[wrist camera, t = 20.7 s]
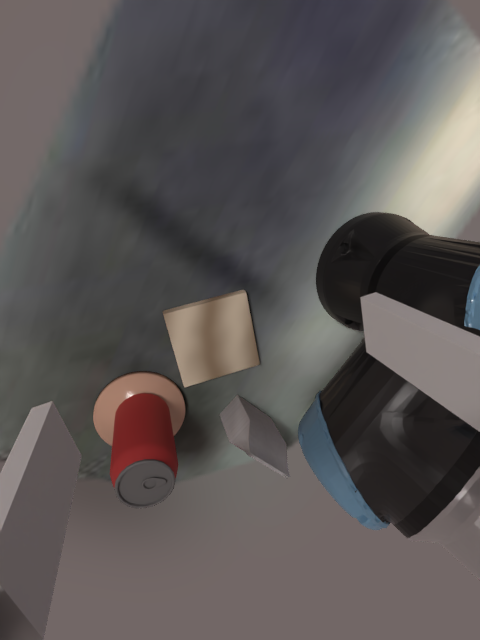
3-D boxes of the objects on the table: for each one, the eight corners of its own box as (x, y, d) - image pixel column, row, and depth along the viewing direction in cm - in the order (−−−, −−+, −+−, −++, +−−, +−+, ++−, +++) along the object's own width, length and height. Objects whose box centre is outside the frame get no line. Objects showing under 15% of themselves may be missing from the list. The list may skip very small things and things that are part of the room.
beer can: (169, 433, 47) (180, 507, 36) (115, 439, 45) (110, 518, 34) (169, 388, 45) (181, 452, 34) (113, 392, 43) (106, 461, 32)
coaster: (172, 360, 45) (173, 363, 44) (192, 430, 49) (194, 435, 48) (81, 386, 43) (79, 391, 42) (110, 457, 47) (110, 463, 46)
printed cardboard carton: (237, 394, 49) (260, 441, 40) (270, 417, 52) (299, 466, 43) (219, 414, 49) (238, 465, 40) (253, 436, 52) (278, 488, 43)
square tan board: (243, 289, 44) (246, 292, 43) (256, 360, 48) (259, 364, 47) (162, 311, 42) (163, 314, 41) (183, 382, 46) (184, 387, 45)
